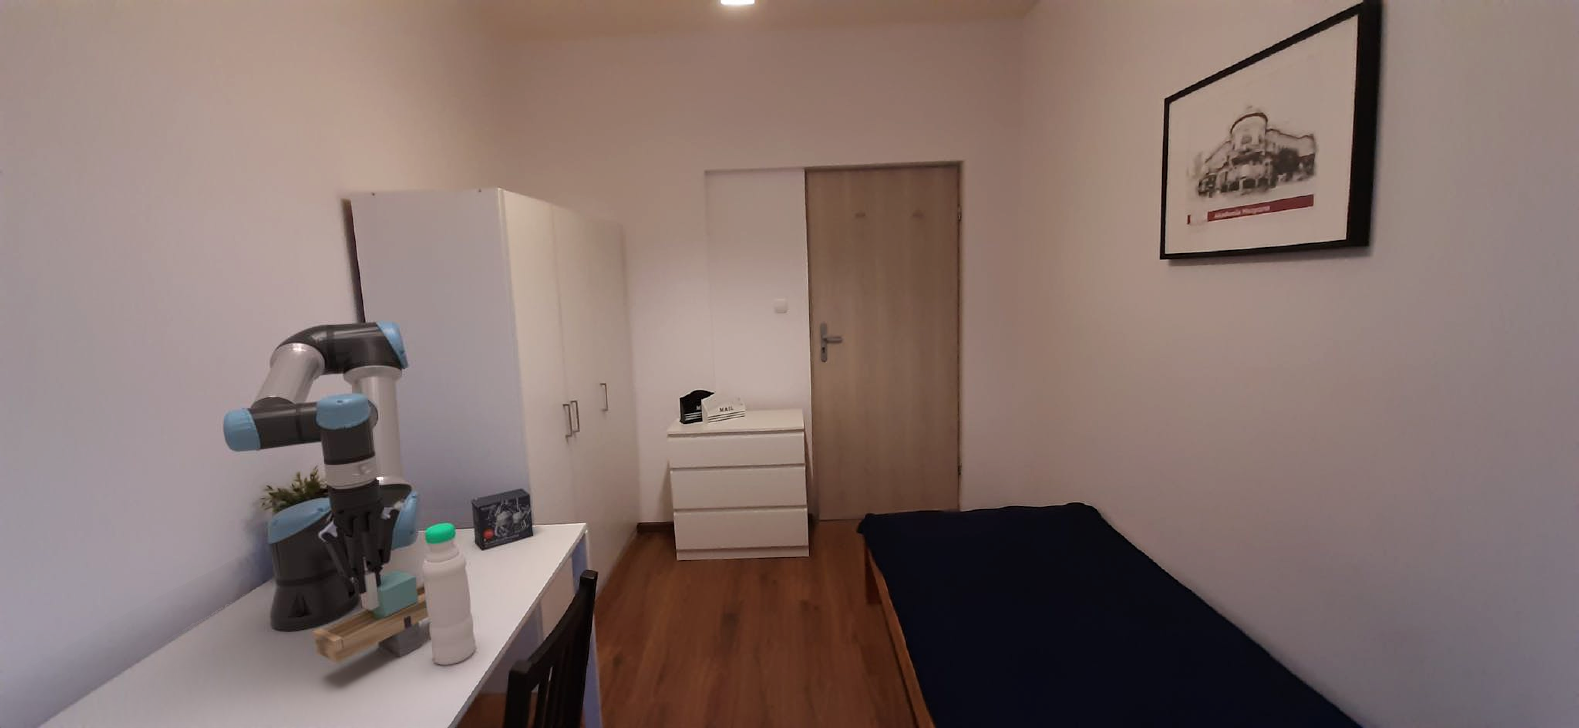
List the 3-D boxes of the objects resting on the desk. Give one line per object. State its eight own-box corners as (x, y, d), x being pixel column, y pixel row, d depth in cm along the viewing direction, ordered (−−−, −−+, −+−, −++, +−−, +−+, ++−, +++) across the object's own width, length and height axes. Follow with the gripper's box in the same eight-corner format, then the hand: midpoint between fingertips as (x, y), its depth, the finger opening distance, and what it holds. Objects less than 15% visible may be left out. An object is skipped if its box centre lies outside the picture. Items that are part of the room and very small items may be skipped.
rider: (368, 617, 118) (363, 584, 117) (400, 601, 123) (396, 570, 122) (387, 624, 115) (382, 591, 114) (419, 608, 120) (415, 576, 119)
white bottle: (465, 639, 122) (451, 516, 118) (483, 652, 118) (468, 524, 114) (426, 657, 117) (410, 528, 113) (443, 671, 112) (426, 538, 109)
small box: (481, 551, 161) (476, 506, 160) (474, 543, 167) (469, 499, 165) (534, 536, 170) (530, 493, 168) (525, 528, 175) (521, 487, 173)
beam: (319, 678, 112) (310, 617, 110) (448, 612, 132) (441, 560, 131) (342, 690, 108) (332, 627, 106) (470, 620, 129) (463, 567, 127)
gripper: (323, 497, 104) (343, 629, 108) (403, 473, 116) (418, 594, 119) (300, 491, 108) (320, 619, 111) (379, 468, 119) (395, 586, 123)
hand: (370, 606), depth 115 cm, fingers closed
